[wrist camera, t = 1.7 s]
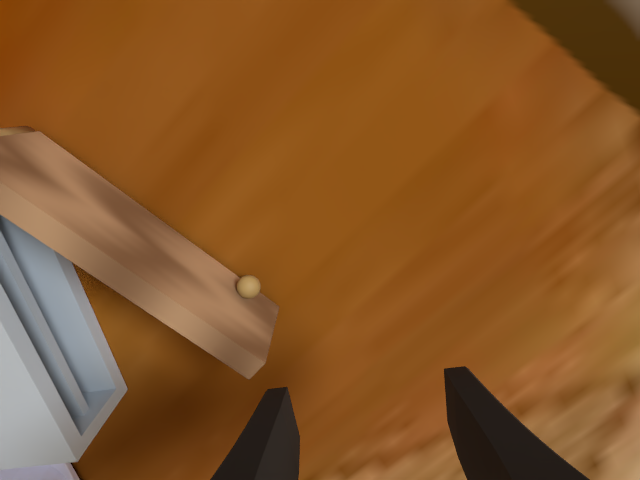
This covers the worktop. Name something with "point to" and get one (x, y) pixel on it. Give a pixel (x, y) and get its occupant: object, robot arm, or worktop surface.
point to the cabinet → (49, 357)
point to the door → (132, 250)
